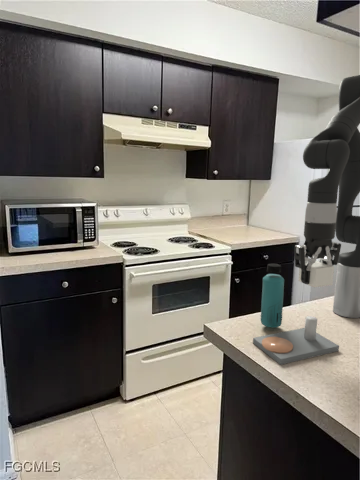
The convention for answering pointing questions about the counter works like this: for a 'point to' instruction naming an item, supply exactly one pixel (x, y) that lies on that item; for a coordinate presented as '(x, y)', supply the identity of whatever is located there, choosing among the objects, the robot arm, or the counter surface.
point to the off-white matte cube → (319, 274)
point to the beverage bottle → (272, 297)
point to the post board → (300, 343)
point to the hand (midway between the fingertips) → (315, 281)
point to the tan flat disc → (277, 344)
